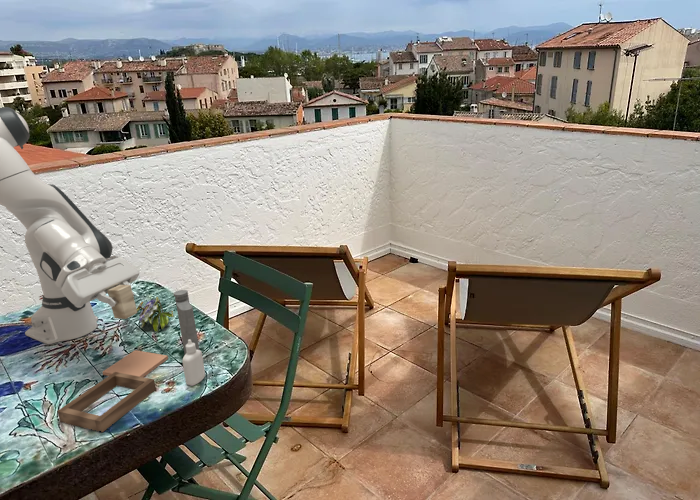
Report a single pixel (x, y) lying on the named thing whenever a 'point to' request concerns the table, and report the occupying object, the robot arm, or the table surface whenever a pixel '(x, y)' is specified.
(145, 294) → the table surface
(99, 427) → the walnut stand
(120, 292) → the ash post
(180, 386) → the table surface
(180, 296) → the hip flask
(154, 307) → the passion flower
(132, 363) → the terracotta tile
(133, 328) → the table surface
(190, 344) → the eye dropper bottle
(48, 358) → the table surface
